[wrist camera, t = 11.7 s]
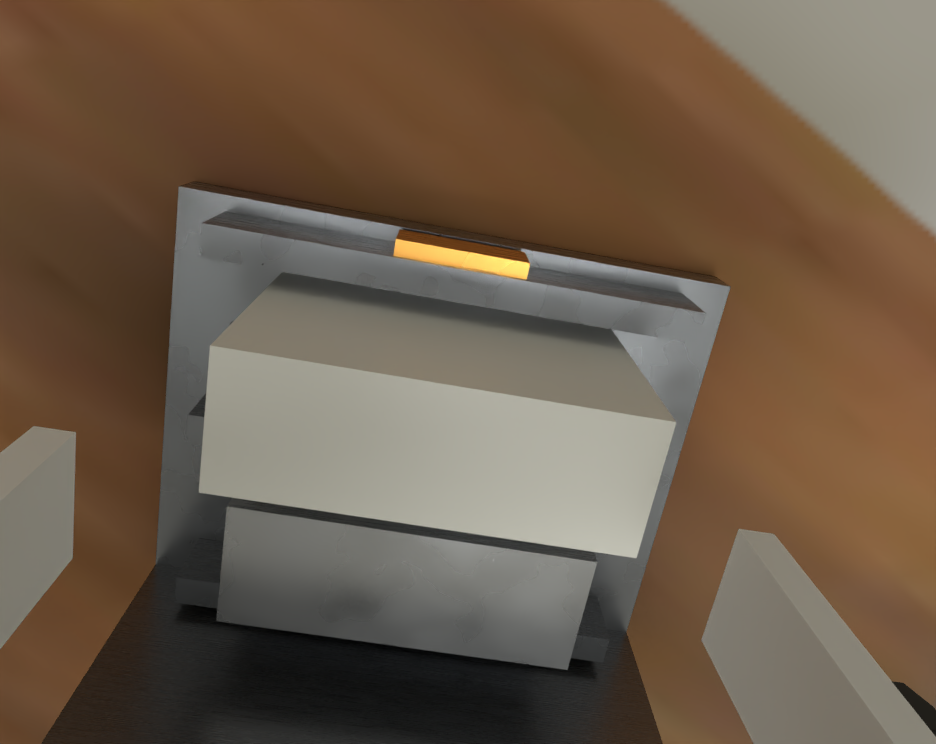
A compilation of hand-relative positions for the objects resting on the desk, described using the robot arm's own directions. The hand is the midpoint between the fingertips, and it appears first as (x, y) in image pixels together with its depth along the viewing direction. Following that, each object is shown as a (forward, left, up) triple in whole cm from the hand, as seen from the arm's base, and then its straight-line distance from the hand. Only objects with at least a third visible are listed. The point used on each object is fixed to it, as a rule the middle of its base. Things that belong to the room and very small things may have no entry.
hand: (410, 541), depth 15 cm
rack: (0, -3, -13) cm, 13 cm away
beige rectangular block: (0, 0, -12) cm, 12 cm away
